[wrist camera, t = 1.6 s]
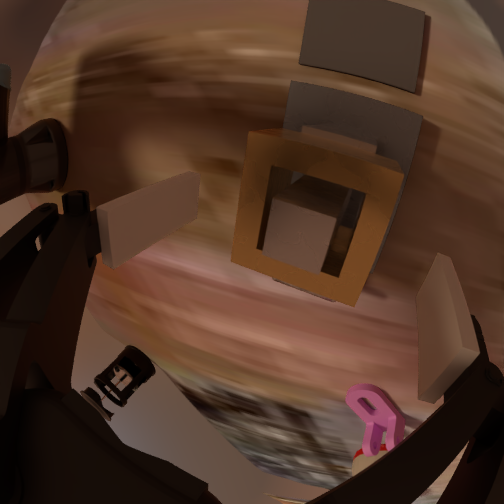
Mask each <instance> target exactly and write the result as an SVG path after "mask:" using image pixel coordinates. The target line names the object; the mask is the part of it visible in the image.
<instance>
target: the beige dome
mask: <svg viewBox="0 0 504 504" xmlns="http://www.w3.org/2000/svg"><path fill="white" fill-rule="evenodd" d="M387 452H388V450H387V448H386V444H381V446H380V450H379V453H378V454H377V455H376V456H370V457H366V456H365V455H364V453H363V450H362V449H360V450H359V451H357V452H356V454H355V456H354V459H353V464H352V474H353V476H354V475H356V474H358V473H359V472H361V471H362V470H364V469H365V468H367V467H368V466H369V465H371V464H372V463H374V462H375V461H376V460H378V459H379V458H381V457H382V456H383V455H385V454H386V453H387Z"/></svg>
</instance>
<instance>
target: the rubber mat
mask: <svg viewBox="0 0 504 504" xmlns="http://www.w3.org/2000/svg"><path fill="white" fill-rule="evenodd" d="M424 20H425V12H424V11H421V10H418V9H415V8H412V7H408V6H405V5H402V4H398V3H395V2H391V1H387V0H309V4H308V10H307V17H306V23H305V29H304V34H303V40H302V46H301V52H300V58H299V64H300V65H306V66H312V67H318V68H323V69H328V70H333V71H338V72H342V73H347V74H351V75H355V76H359V77H363V78H367V79H370V80H374V81H377V82H381V83H384V84H387V85H391V86H394V87H397V88H400V89H403V90H406V91H409V92H412V93H415V88H416V82H417V76H418V70H419V63H420V56H421V49H422V40H423V31H424Z"/></svg>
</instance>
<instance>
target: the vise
mask: <svg viewBox="0 0 504 504" xmlns="http://www.w3.org/2000/svg"><path fill="white" fill-rule="evenodd" d="M422 119H423V116H422V115H419V114H416V113H414V112H411V111H408V110H405V109H403V108H400V107H397V106H394V105H391V104H388V103H384V102H381V101H378V100H375V99H371V98H368V97H364V96H360V95H357V94H353V93H349V92H345V91H341V90H337V89H332V88H328V87H323V86H318V85H313V84H308V83H303V82H297V81H291V84H290V89H289V95H288V101H287V106H286V112H285V118H284V123H283V129H288V130H292V131H297V132H301V133H305V134H309V135H313V136H317V137H321V138H325V139H329V140H332V141H336V142H339V143H343V144H346V145H350V146H353V147H356V148H360V149H363V150H366V151H369V152H372V153H375V154H378V155H381V156H384V157H387V158H390V159H393V160H396V161H397V162H398V164H399V165H400V167H401V169H402V171H403V173H404V178H403V181H402V184H401V187H400V191H399V194H398V197H397V200H396V203H395V206H394V209H393V212H392V215H391V218H390V221H389V223H388V226H387V229H386V232H385V234H384V237H383V240H382V242H381V245H380V248H379V250H378V253H377V255H376V258H375V260H374V263H373V265H372V268H371V270H370V272H369V273H373V271H374V268H375V266H376V264H377V261H378V259H379V256H380V254H381V251H382V249H383V246H384V244H385V241H386V238H387V236H388V233H389V230H390V228H391V225H392V222H393V219H394V216H395V214H396V211H397V208H398V205H399V202H400V199H401V196H402V193H403V189H404V186H405V183H406V180H407V176H408V173H409V170H410V166H411V163H412V159H413V155H414V152H415V148H416V144H417V140H418V136H419V132H420V128H421V123H422ZM363 196H364V192H361V191H358V190H355V189H352V188H349V187H346V186H343V185H340V184H336V183H333V182H330V181H327V180H323V179H320V178H317V177H313V176H310V175H306V174H303V173H299V172H296V171H294V172H293V176H292V181H291V185H290V186H288V187H287V188H286V189H284V190H283V191H282V192H280V193H279V194H278V195H276V196H275V197H274V198H273V199H272V204H271V209H270V215H269V220H268V225H267V230H266V236H265V241H264V246H263V251H262V255H264V256H267V257H270V258H273V259H275V260H278V261H281V262H284V263H286V264H289V265H292V266H295V267H298V268H300V269H303V270H306V271H309V272H311V273H314V274H317V275H319V274H320V272H321V269H322V267H323V265H324V262H325V260H326V258H327V255H328V253H329V250H330V248H331V246H332V243H333V241H334V238H338V239H341V240H344V241H346V242H349V241H350V238H351V235H352V232H353V229H354V225H355V222H356V219H357V216H358V213H359V210H360V206H361V203H362V200H363ZM272 278H273V277H272ZM273 280H274V281H277V282H279V283H282V284H285V285H287V286H290V287H293V288H296V289H298V290H301V291H304V292H306V293H309V294H312V295H314V296H317V297H320V298H323V299H325V300H328V301H331V302H336V301H335V300H333V299H330V298H327V297H324V296H322V295H319V294H316V293H313V292H311V291H308V290H305V289H303V288H300V287H297V286H294V285H292V284H289V283H286V282H284V281H281V280H278V279H276V278H273Z"/></svg>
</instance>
